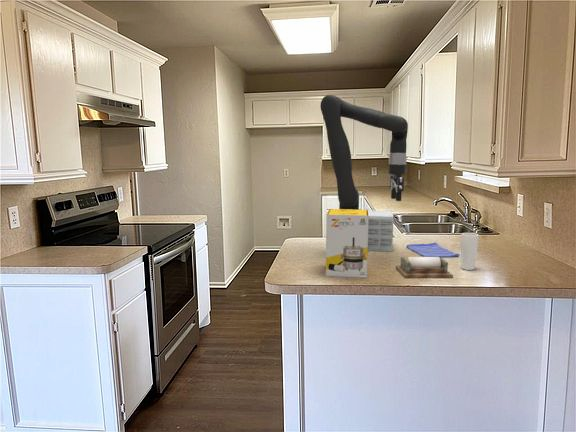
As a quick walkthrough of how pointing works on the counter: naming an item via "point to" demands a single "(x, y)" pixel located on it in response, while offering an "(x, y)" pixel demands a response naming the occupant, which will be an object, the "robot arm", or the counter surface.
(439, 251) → the dish towel
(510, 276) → the counter surface
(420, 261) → the roll
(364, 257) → the packaging box
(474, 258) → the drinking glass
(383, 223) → the supplement box
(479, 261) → the counter surface
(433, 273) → the cradle
